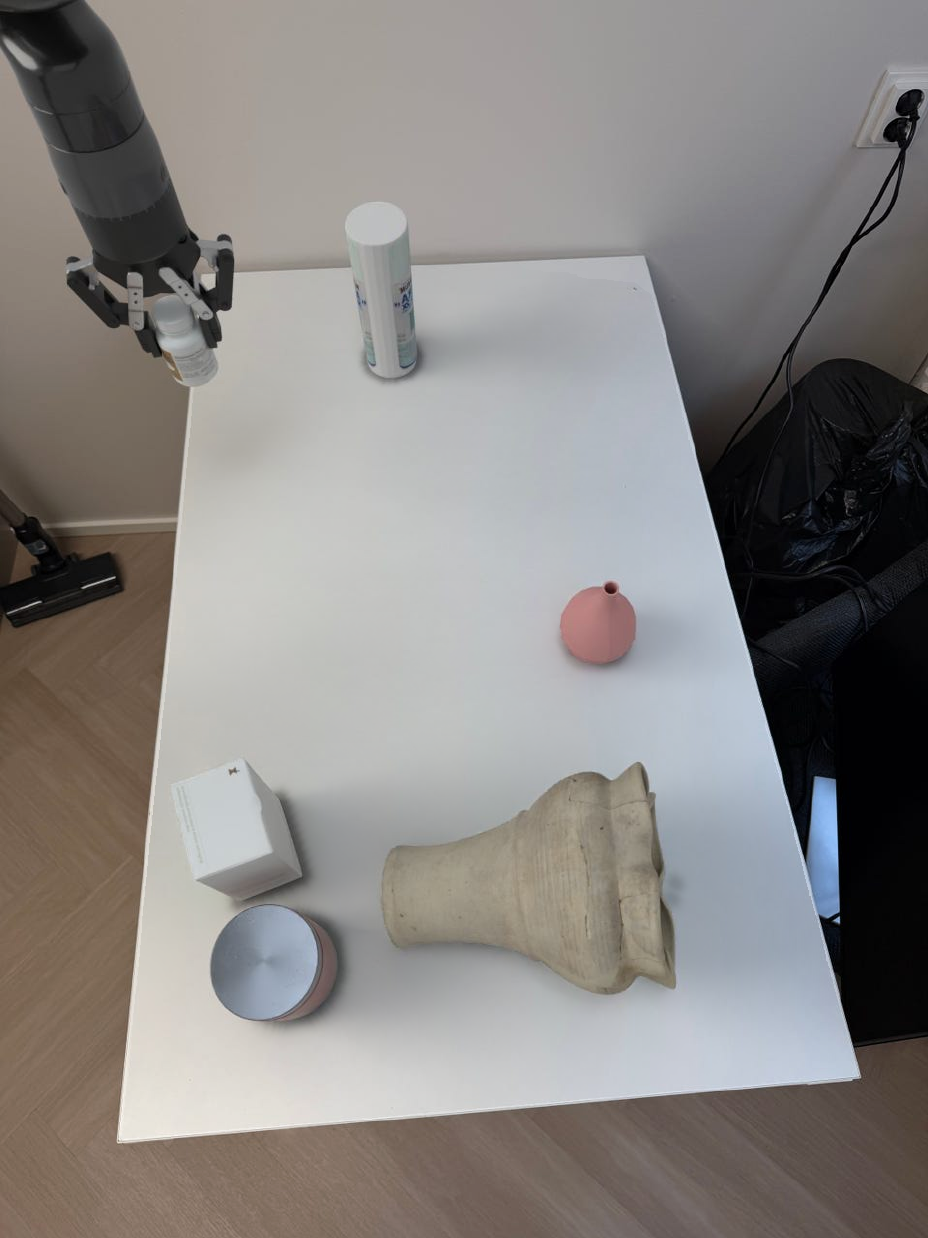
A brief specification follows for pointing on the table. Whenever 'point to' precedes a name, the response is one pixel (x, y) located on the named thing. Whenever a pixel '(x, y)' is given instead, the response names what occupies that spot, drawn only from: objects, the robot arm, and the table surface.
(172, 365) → the pill bottle
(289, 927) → the tin can
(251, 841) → the cosmetic box
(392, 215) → the spray can
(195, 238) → the robot arm
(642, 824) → the vase
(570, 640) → the pink bud vase
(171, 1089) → the table surface
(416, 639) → the table surface
